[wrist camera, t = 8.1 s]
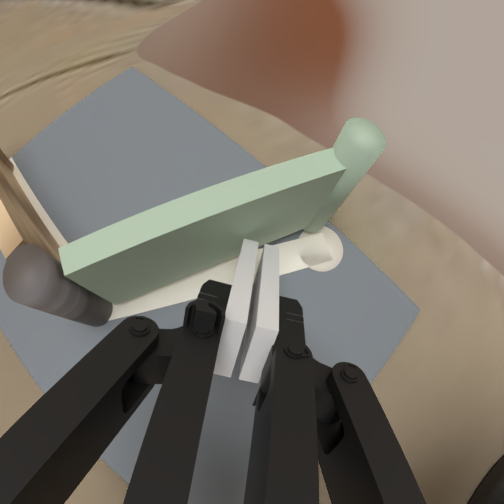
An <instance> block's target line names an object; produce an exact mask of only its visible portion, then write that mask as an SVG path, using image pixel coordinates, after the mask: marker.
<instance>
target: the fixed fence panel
mask: <svg viewBox="0 0 504 504" xmlns="http://www.w3.org/2000/svg"><path fill="white" fill-rule="evenodd" d="M13 171H14V165H13V164H12V162H11V161H10V160H9V159H8V158H7V157H6V155H5V154H4V153H3V152H2V150H1V149H0V249H1V251H2V253H3V255H4V257H5V259H6V260H7V261H6V263H5V266H4V269H3V286H4V289H5V292H6V294H7V295H8V297H9V298H10V299H11V300H12V301H14V302H16V303H19V304H22V305H25V306H28V307H31V308H34V309H37V310H40V311H43V312H46V313H49V314H52V315H55V316H59V317H62V318H65V319H69V320H72V321H75V322H79V323H82V324H86V325H90V326H93V327H99V326H102V325H104V324H106V323H107V322H108V320H109V318H110V317H111V314H112V309H113V305H112V303H111V302H109V301H107V300H105V299H104V298H102V297H100V296H98V295H96V294H95V293H93V292H91V291H89V290H88V289H86V288H84V287H82V286H81V285H79V284H77V283H76V282H74V281H72V280H70V279H69V278H67V277H65V276H64V272H63V268H62V264H61V259H60V255H59V250H58V248H60V246H59V245H58V243H57V242H56V240H55V239H54V238H53V236H52V235H51V233H50V232H49V230H48V229H47V227H46V226H45V224H44V223H43V221H42V220H41V218H40V217H39V215H38V214H37V212H36V211H35V209H34V207H33V206H32V204H31V203H30V201H29V199H28V198H27V196H26V195H25V193H24V191H23V190H22V188H21V186H20V185H19V183H18V181H17V179H16V178H15V176H14V174H13Z"/></svg>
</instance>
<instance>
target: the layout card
mask: <svg viewBox="0 0 504 504" xmlns="http://www.w3.org/2000/svg"><path fill="white" fill-rule="evenodd" d="M9 160H10V161H11V162H12V164H13V165H14V171H13V174H14V176H15V178H16V179H17V181H18V183H19V185H20V186H21V188H22V190H23V191H24V193H25V195H26V196H27V198H28V199H29V201H30V203H31V204H32V206H33V207H34V209H35V211H36V212H37V214H38V215H39V217H40V218H41V220H42V221H43V223H44V224H45V226H46V227H47V229H48V230H49V232H50V233H51V235H52V236H53V238H54V239H55V240H56V242H57V243H58V245H59V246H60V247H62V246H64V245H67V244H69V243H71V242H73V241H75V240H78V239H80V238H82V237H84V236H87V235H89V234H91V233H93V232H96V231H98V230H100V229H103V228H105V227H107V226H110V225H112V224H114V223H117V222H119V221H122V220H124V219H126V218H129V217H131V216H134V215H136V214H139V213H141V212H144V211H146V210H149V209H151V208H154V207H156V206H159V205H162V204H164V203H167V202H169V201H172V200H175V199H177V198H180V197H183V196H185V195H188V194H191V193H193V192H196V191H199V190H202V189H205V188H207V187H210V186H213V185H216V184H219V183H222V182H224V181H227V180H230V179H233V178H236V177H239V176H242V175H245V174H248V173H251V172H254V171H257V170H260V169H263V168H267V167H265V166H264V165H263V164H262V163H261V162H259V161H258V160H257V159H256V158H254V157H253V156H252V155H251V154H249V153H248V152H247V151H246V150H244V149H243V148H242V147H241V146H239V145H238V144H237V143H236V142H234V141H233V140H232V139H231V138H229V137H228V136H227V135H225V134H224V133H223V132H222V131H220V130H219V129H218V128H216V127H215V126H214V125H212V124H211V123H210V122H209V121H207V120H206V119H205V118H203V117H202V116H201V115H199V114H198V113H197V112H195V111H194V110H193V109H191V108H190V107H188V106H187V105H186V104H184V103H183V102H182V101H180V100H179V99H178V98H176V97H175V96H173V95H172V94H171V93H169V92H168V91H166V90H165V89H164V88H162V87H161V86H159V85H158V84H156V83H155V82H154V81H152V80H151V79H149V78H148V77H146V76H145V75H143V74H142V73H141V72H139V71H138V70H136V69H135V68H133V67H131V68H129V69H128V70H126V71H124V72H123V73H121V74H119V75H118V76H116V77H115V78H113V79H112V80H110V81H108V82H107V83H105V84H104V85H102V86H101V87H99V88H98V89H96V90H95V91H94V92H92V93H91V94H89V95H88V96H86V97H85V98H84V99H82V100H81V101H79V102H78V103H77V104H75V105H74V106H73V107H71V108H70V109H69V110H67V111H66V112H65V113H63V114H62V115H61V116H60V117H58V118H57V119H56V120H55V121H53V122H52V123H51V124H50V125H48V126H47V127H46V128H45V129H44V130H42V131H41V132H40V133H39V134H38V135H36V136H35V137H34V138H33V139H32V140H31V141H30V142H29V143H27V144H26V145H25V146H24V147H23V148H22V149H21V150H20V151H19V152H18V153H16V154H15V155H14V156H13V157H11V158H10V159H9ZM267 244H268V245H272V246H276V247H279V296H283V297H287V298H291V299H296V300H298V302H299V303H300V305H301V306H302V309H303V319H304V330H305V342H306V345H307V346H308V348H309V349H310V350H311V352H312V355H313V358H314V359H315V360H317V361H318V362H320V363H322V364H324V365H327V366H329V367H331V368H333V366H334V365H335V364H337V363H339V362H349V363H352V364H354V365H356V366H358V367H359V368H360V369H362V371H363V372H364V373H365V375H366V377H367V379H368V381H369V383H371V382H372V381H373V379H374V378H375V377H376V375H377V374H378V373H379V371H380V370H381V368H382V367H383V366H384V364H385V363H386V361H387V360H388V359H389V357H390V356H391V354H392V353H393V351H394V350H395V348H396V347H397V346H398V344H399V343H400V341H401V340H402V338H403V336H404V335H405V333H406V332H407V330H408V329H409V327H410V326H411V324H412V322H413V321H414V319H415V318H416V316H417V314H418V313H419V311H420V309H419V308H418V307H417V306H416V305H415V304H414V303H413V301H412V300H411V299H410V298H409V297H408V296H407V295H406V294H405V293H404V292H403V291H402V290H401V289H400V288H399V287H398V286H397V285H396V284H395V283H394V282H393V281H392V280H391V279H390V278H389V277H388V276H387V275H386V274H385V273H384V272H383V271H381V270H380V269H379V268H378V267H377V266H376V265H375V264H374V263H373V262H372V261H371V260H370V259H369V258H368V257H367V256H366V255H365V254H364V253H363V252H362V251H361V250H360V249H359V248H357V247H356V246H355V245H354V244H353V243H352V242H351V241H350V240H349V239H348V238H347V237H346V236H345V235H343V234H342V233H341V232H340V231H339V230H338V229H337V228H336V227H335V226H334V225H333V224H331V223H330V222H329V221H328V222H327V223H326V224H325V225H324V227H323V228H322V229H321V230H320V231H318V232H307V231H305V230H303V229H302V230H299V231H297V232H294V233H292V234H289V235H287V236H284V237H282V238H279V239H277V240H274V241H272V242H269V243H267ZM263 248H264V245H262V246H259V247H258V251H257V258H256V265H255V271H254V278H253V283H254V280H255V276H256V273H257V269H258V265H259V262H260V258H261V255H262V251H263ZM239 256H240V255H237V256H235V257H232V258H230V259H227V260H225V261H222V262H220V263H218V264H215V265H213V266H210V267H208V268H205V269H203V270H200V271H198V272H195V273H193V274H190V275H188V276H185V277H183V278H181V279H178V280H176V281H173V282H171V283H168V284H166V285H163V286H161V287H158V288H156V289H154V290H151V291H149V292H146V293H144V294H141V295H139V296H136V297H134V298H131V299H129V300H126V301H124V302H122V303H119V304H117V305H115V304H113V303H112V305H113V309H112V314H111V317H110V318H109V320H108V322H107V323H106V324H104V325H102V326H99V327H93V326H90V325H86V324H82V323H79V322H75V321H72V320H69V319H65V318H62V317H59V316H55V315H52V314H49V313H46V312H43V311H40V310H37V309H34V308H31V307H28V306H25V305H22V304H19V303H16V302H14V301H12V300H11V299H10V298H9V297H8V295H7V294H6V292H5V289H4V286H3V269H4V266H5V263H6V261H7V260H6V259H5V257H4V255H3V253H2V251H1V249H0V328H1V330H2V331H3V333H4V335H5V336H6V338H7V340H8V341H9V343H10V345H11V346H12V348H13V349H14V351H15V353H16V354H17V356H18V357H19V359H20V360H21V362H22V363H23V365H24V366H25V368H26V369H27V371H28V372H29V373H30V375H31V376H32V378H33V379H34V380H35V382H36V383H37V385H38V386H39V387H40V389H41V390H42V391H43V393H44V394H45V393H46V392H47V391H48V390H49V389H50V388H51V387H52V386H53V385H54V384H55V383H57V382H58V381H59V380H60V379H61V378H62V377H63V376H64V375H65V374H66V373H67V372H68V371H69V370H70V369H71V368H72V367H73V366H74V365H75V364H76V363H78V362H79V361H80V360H81V359H82V358H83V357H84V356H85V355H86V354H87V353H88V352H89V351H90V350H91V349H93V348H94V347H95V346H96V345H97V344H98V343H99V342H100V341H101V340H102V339H103V338H104V337H105V336H107V335H108V334H109V333H110V332H111V331H112V330H113V329H114V328H115V327H116V326H117V325H119V324H120V323H121V322H122V321H123V320H125V319H126V318H128V317H131V316H144V317H148V318H150V319H152V320H153V321H155V322H156V324H157V325H158V327H159V329H174V328H179V327H181V326H183V322H184V315H185V308H186V306H187V305H188V303H190V302H192V301H194V300H196V299H197V297H198V294H199V292H200V289H201V287H202V284H204V283H205V282H207V281H208V280H209V279H210V280H214V281H218V282H222V283H226V284H230V285H232V284H233V280H234V276H235V272H236V268H237V264H238V260H239ZM252 287H253V285H252ZM246 326H247V325H246ZM245 333H246V329H245V332H244V335H243V338H242V342H241V345H240V348H239V352H238V355H237V358H236V362H235V365H234V368H233V371H232V375H231V378H230V377H226V376H222V375H217V374H213V377H212V382H211V387H210V392H209V397H208V402H207V407H206V412H205V417H204V422H203V427H202V432H201V437H200V442H199V447H198V452H197V457H196V462H195V467H194V473H193V478H192V483H191V488H190V493H189V499H188V504H243V503H244V495H245V488H246V480H247V472H248V464H249V456H250V448H251V440H252V432H253V424H254V415H255V407H256V405H255V406H252V404H253V402H254V400H255V397H256V395H257V393H258V390H259V388H260V385H261V378H260V380H259V383H253V382H248V381H244V380H239V373H240V367H241V360H242V353H243V346H244V339H245ZM161 386H162V384H155V385H154V387H153V388H152V390H151V391H150V392H149V394H148V395H147V396H146V398H145V399H144V400H143V402H142V403H141V404H140V405H139V407H138V408H137V409H136V411H135V412H134V413H133V415H132V416H131V417H130V418H129V420H128V421H127V422H126V424H125V425H124V426H123V428H122V429H121V430H120V432H119V433H118V434H117V435H116V437H115V438H114V439H113V441H112V442H111V443H110V445H109V446H108V447H107V448H106V450H105V451H104V452H103V454H102V455H101V456H100V458H101V459H102V460H103V461H104V462H105V463H106V464H107V465H108V466H109V467H110V468H112V469H113V470H114V471H115V472H116V473H117V474H118V475H119V476H120V477H121V478H122V479H123V480H125V481H126V482H127V483H128V484H129V483H130V480H131V477H132V473H133V470H134V467H135V464H136V461H137V458H138V454H139V451H140V448H141V445H142V442H143V439H144V436H145V433H146V430H147V427H148V424H149V421H150V418H151V415H152V412H153V409H154V406H155V403H156V400H157V397H158V394H159V391H160V389H161Z"/></svg>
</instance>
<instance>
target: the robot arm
mask: <svg viewBox="0 0 504 504" xmlns="http://www.w3.org/2000/svg"><path fill="white" fill-rule="evenodd" d="M258 244H259V242H256V241H252V240H248V239H244V240H243V244H242V248H241V252H240V256H239V260H238V264H237V268H236V272H235V276H234V280H233V284H232V285H230V284H226V283H222V282H218V281H214V280H210V279H209V280H208V281H207V282H205V283H204V284H202V287H201V289H200V292H199V294H198V297H197V299H196V300H194V301H192V302H190V303H188V305H187V306H186V308H185V315H184V322H183V326H181V327H179V328H174V329H159V327H158V325H157V324H156V322H155V321H153V320H152V319H150V318H148V317H144V316H131V317H128V318H126V319H125V320H123V321H122V322H121V323H120V324H119V325H117V326H116V327H115V328H114V329H113V330H112V331H111V332H110V333H109V334H108V335H107V336H105V337H104V338H103V339H102V340H101V341H100V342H99V343H98V344H97V345H96V346H95V347H94V348H93V349H91V350H90V351H89V352H88V353H87V354H86V355H85V356H84V357H83V358H82V359H81V360H80V361H79V362H78V363H76V364H75V365H74V366H73V367H72V368H71V369H70V370H69V371H68V372H67V373H66V374H65V375H64V376H63V377H62V378H61V379H60V380H59V381H58V382H57V383H55V384H54V385H53V386H52V387H51V388H50V389H49V390H48V391H47V392H46V393H45V394H44V395H43V396H42V397H41V398H40V399H39V400H38V401H37V402H36V403H35V404H34V405H33V406H32V407H31V408H30V409H29V410H28V411H27V412H26V413H25V414H24V415H23V416H22V417H21V418H20V419H19V420H18V421H17V422H16V423H15V424H14V425H13V426H12V427H11V428H10V429H9V430H8V431H7V432H6V433H5V434H4V435H3V436H2V437H1V438H0V504H64V503H65V502H66V500H67V499H68V498H69V496H70V495H71V494H72V493H73V491H74V490H75V489H76V487H77V486H78V485H79V484H80V482H81V481H82V480H83V478H84V477H85V476H86V474H87V473H88V472H89V471H90V469H91V468H92V467H93V465H94V464H95V463H96V461H97V460H98V459H99V458H100V456H101V455H102V454H103V452H104V451H105V450H106V448H107V447H108V446H109V445H110V443H111V442H112V441H113V439H114V438H115V437H116V435H117V434H118V433H119V432H120V430H121V429H122V428H123V426H124V425H125V424H126V422H127V421H128V420H129V418H130V417H131V416H132V415H133V413H134V412H135V411H136V409H137V408H138V407H139V405H140V404H141V403H142V402H143V400H144V399H145V398H146V396H147V395H148V394H149V392H150V391H151V390H152V388H153V387H154V385H155V384H162V386H161V389H160V391H159V394H158V397H157V400H156V403H155V406H154V409H153V412H152V415H151V418H150V421H149V424H148V427H147V430H146V433H145V436H144V439H143V442H142V445H141V448H140V451H139V454H138V458H137V461H136V464H135V467H134V470H133V473H132V477H131V480H130V483H129V486H128V490H127V493H126V496H125V500H124V503H123V504H188V499H189V493H190V488H191V483H192V478H193V473H194V467H195V462H196V457H197V452H198V447H199V442H200V437H201V432H202V427H203V422H204V417H205V412H206V407H207V402H208V397H209V392H210V387H211V382H212V377H213V374H217V375H222V376H226V377H230V378H231V375H232V371H233V368H234V365H235V362H236V358H237V355H238V352H239V348H240V345H241V342H242V338H243V335H244V332H245V329H246V333H245V339H244V346H243V353H242V360H241V367H240V373H239V380H244V381H248V382H253V383H259V380H260V378H261V385H260V388H259V390H258V393H257V395H256V397H255V400H254V402H253V404H252V406H255V405H256V407H255V415H254V424H253V432H252V440H251V448H250V456H249V464H248V472H247V480H246V488H245V495H244V503H243V504H319V474H318V460H319V464H320V467H321V470H322V474H323V477H324V480H325V483H326V487H327V490H328V493H329V497H330V500H331V503H332V504H426V502H425V500H424V498H423V495H422V493H421V491H420V489H419V486H418V484H417V482H416V480H415V477H414V475H413V473H412V471H411V468H410V466H409V464H408V462H407V460H406V458H405V455H404V453H403V451H402V449H401V447H400V445H399V443H398V440H397V438H396V436H395V434H394V432H393V430H392V428H391V426H390V424H389V422H388V419H387V417H386V415H385V413H384V411H383V409H382V407H381V405H380V403H379V401H378V399H377V397H376V395H375V393H374V391H373V389H372V387H371V385H370V383H369V381H368V379H367V377H366V375H365V373H364V372H363V371H362V369H360V368H359V367H358V366H356V365H354V364H352V363H349V362H339V363H337V364H335V365H334V366H333V368H331V367H329V366H327V365H324V364H322V363H320V362H318V361H317V360H315V359H314V358H313V355H312V352H311V350H310V349H309V348H308V346H307V345H306V342H305V330H304V319H303V309H302V306H301V305H300V303H299V302H298V300H296V299H291V298H287V297H283V296H279V247H276V246H272V245H268V244H264V248H263V251H262V255H261V258H260V262H259V265H258V269H257V273H256V276H255V280H254V283H253V278H254V271H255V265H256V258H257V251H258ZM252 285H253V287H252ZM246 325H247V326H246ZM469 504H504V456H503V457H502V458H501V459H500V460H499V462H498V463H497V464H496V465H495V466H494V467H493V469H492V470H491V471H490V472H489V474H488V475H487V476H486V478H485V479H484V480H483V482H482V483H481V485H480V486H479V488H478V489H477V491H476V492H475V494H474V495H473V497H472V499H471V500H470V502H469Z"/></svg>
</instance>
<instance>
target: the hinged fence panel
mask: <svg viewBox="0 0 504 504" xmlns="http://www.w3.org/2000/svg"><path fill="white" fill-rule="evenodd" d="M385 147H386V138H385V136H384V133H383V132H382V130H381V129H380V128H379V127H378V126H377V125H376V124H374V123H373V122H371V121H369V120H367V119H364V118H359V117H358V118H357V117H355V118H351V119H349V120H348V121H347V122H346V123H345V125H344V127H343V129H342V131H341V133H340V135H339V137H338V138H337V140H336V142H335V144H334V146H333V147H332V148H330V149H327V150H323V151H319V152H316V153H313V154H309V155H306V156H302V157H299V158H296V159H292V160H289V161H286V162H283V163H279V164H276V165H273V166H270V167H267V168H263V169H260V170H257V171H254V172H251V173H248V174H245V175H242V176H239V177H236V178H233V179H230V180H227V181H224V182H222V183H219V184H216V185H213V186H210V187H207V188H205V189H202V190H199V191H196V192H193V193H191V194H188V195H185V196H183V197H180V198H177V199H175V200H172V201H169V202H167V203H164V204H162V205H159V206H156V207H154V208H151V209H149V210H146V211H144V212H141V213H139V214H136V215H134V216H131V217H129V218H126V219H124V220H122V221H119V222H117V223H114V224H112V225H110V226H107V227H105V228H103V229H100V230H98V231H96V232H93V233H91V234H89V235H87V236H84V237H82V238H80V239H78V240H75V241H73V242H71V243H69V244H67V245H64V246H62V247H60V248H58V250H59V255H60V259H61V264H62V268H63V272H64V276H65V277H67V278H69V279H70V280H72V281H74V282H76V283H77V284H79V285H81V286H82V287H84V288H86V289H88V290H89V291H91V292H93V293H95V294H96V295H98V296H100V297H102V298H104V299H105V300H107V301H109V302H111V303H113V304H115V305H117V304H119V303H122V302H124V301H126V300H129V299H131V298H134V297H136V296H139V295H141V294H144V293H146V292H149V291H151V290H154V289H156V288H158V287H161V286H163V285H166V284H168V283H171V282H173V281H176V280H178V279H181V278H183V277H185V276H188V275H190V274H193V273H195V272H198V271H200V270H203V269H205V268H208V267H210V266H213V265H215V264H218V263H220V262H222V261H225V260H227V259H230V258H232V257H235V256H237V255H240V252H241V248H242V244H243V240H244V239H248V240H252V241H256V242H259V244H258V247H259V246H262V245H264V244H267V243H269V242H272V241H274V240H277V239H279V238H282V237H284V236H287V235H289V234H292V233H294V232H297V231H299V230H302V229H303V230H305V231H307V232H318V231H320V230H321V229H322V228H323V227H324V225H325V224H326V223H327V222H328V220H329V219H330V218H331V217H332V216H333V214H334V213H335V212H336V211H337V209H338V208H339V207H340V206H341V204H342V203H343V202H344V200H345V199H346V198H347V197H348V195H349V194H350V193H351V192H352V190H353V189H354V188H355V187H356V185H357V184H358V183H359V181H360V180H361V179H362V178H363V176H364V175H365V174H366V172H367V171H368V170H369V168H370V167H371V166H372V165H373V163H374V162H375V161H376V160H377V158H378V157H379V156H380V154H381V153H382V152H383V150H384V149H385Z"/></svg>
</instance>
